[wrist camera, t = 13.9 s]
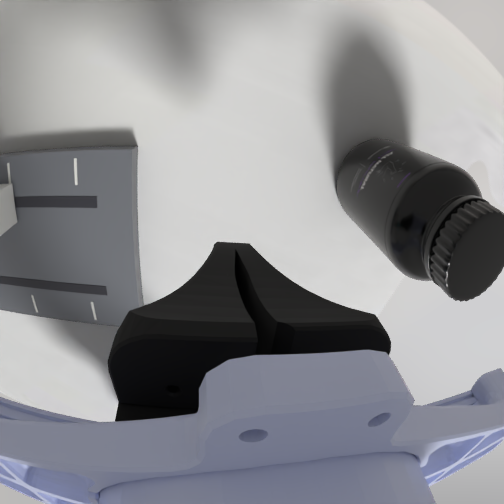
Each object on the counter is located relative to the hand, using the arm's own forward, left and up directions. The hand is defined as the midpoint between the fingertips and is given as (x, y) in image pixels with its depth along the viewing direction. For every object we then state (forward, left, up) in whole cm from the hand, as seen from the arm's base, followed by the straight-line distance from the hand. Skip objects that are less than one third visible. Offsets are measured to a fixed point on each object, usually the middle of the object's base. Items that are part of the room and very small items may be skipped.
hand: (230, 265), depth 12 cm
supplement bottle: (+2, -11, -10) cm, 15 cm away
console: (-4, +16, -10) cm, 19 cm away
